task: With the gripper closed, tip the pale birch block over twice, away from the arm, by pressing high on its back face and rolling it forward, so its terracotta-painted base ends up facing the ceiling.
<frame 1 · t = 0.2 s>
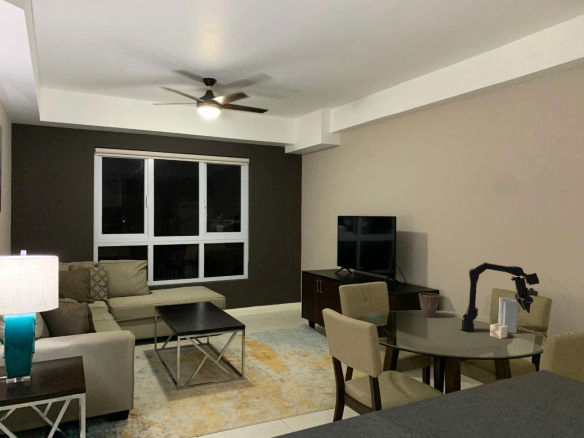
hand: (526, 311, 277), 15 cm above the table, tool pointing down, fingers open, 9 cm apart
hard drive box: (507, 330, 291), on the table
plant pot: (428, 316, 324), on the table
birch block: (498, 336, 275), on the table
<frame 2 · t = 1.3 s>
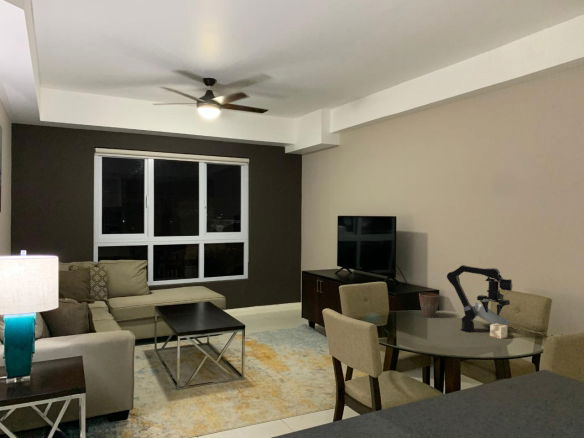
hand: (492, 313, 278), 13 cm above the table, tool pointing down, fingers open, 7 cm apart
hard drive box: (503, 324, 292), point 3 cm above the table, touching arm
everything else where it was.
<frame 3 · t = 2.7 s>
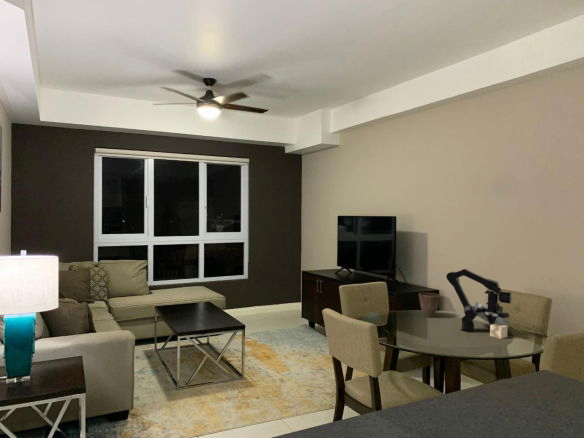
hand: (491, 326, 278), 5 cm above the table, tool pointing down, fingers closed
birch block: (498, 336, 275), on the table, touching gripper
everything else where it was.
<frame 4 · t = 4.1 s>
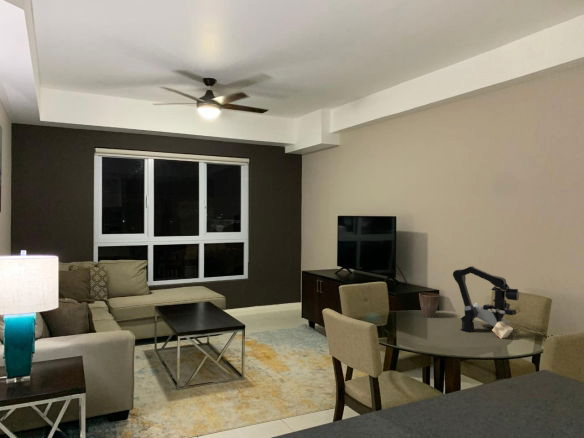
hand: (498, 323, 275), 8 cm above the table, tool pointing down, fingers closed
birch block: (499, 333, 274), point 2 cm above the table, tilted 32°, touching gripper
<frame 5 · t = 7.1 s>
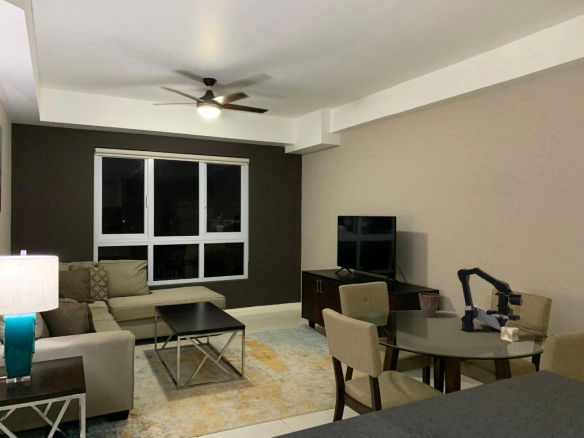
hand: (502, 328, 273), 5 cm above the table, tool pointing down, fingers closed
birch block: (504, 332, 272), point 3 cm above the table, tilted 90°, touching gripper
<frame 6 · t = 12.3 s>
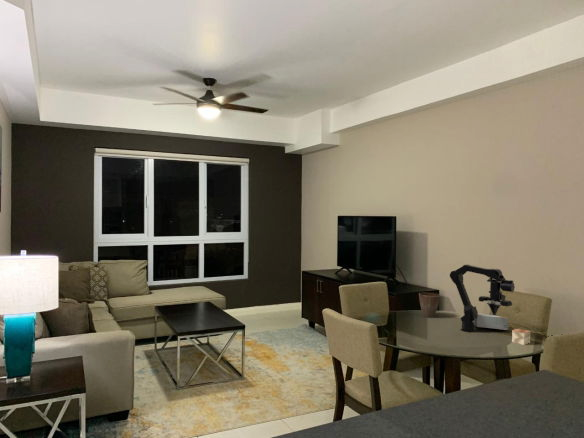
hand: (494, 315, 275), 13 cm above the table, tool pointing down, fingers closed
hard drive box: (503, 322, 292), point 4 cm above the table, touching arm
birch block: (521, 330, 263), point 7 cm above the table, tilted 180°
everything else where it was.
at the end: birch block tilted 180°; birch block inside the target area (1.1 cm from its centre), point 6.9 cm above the table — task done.
